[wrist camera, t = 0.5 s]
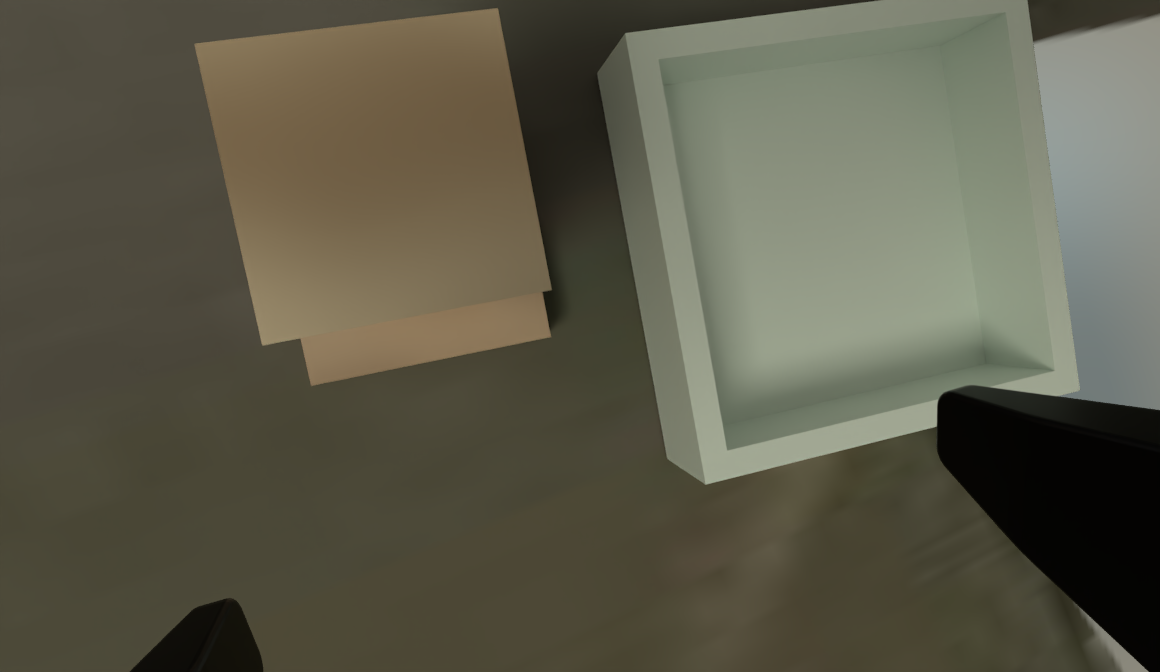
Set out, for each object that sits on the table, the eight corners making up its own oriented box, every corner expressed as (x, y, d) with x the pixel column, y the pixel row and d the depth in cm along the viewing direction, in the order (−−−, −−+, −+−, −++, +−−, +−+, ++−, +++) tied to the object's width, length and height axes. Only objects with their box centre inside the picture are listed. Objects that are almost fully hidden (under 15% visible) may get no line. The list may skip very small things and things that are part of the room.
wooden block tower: (544, 335, 23) (668, 370, 11) (318, 381, 22) (169, 479, 10) (502, 113, 23) (581, -112, 10) (266, 147, 21) (39, -63, 9)
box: (996, 379, 26) (1079, 390, 23) (667, 458, 24) (705, 484, 21) (945, 25, 25) (1024, -19, 22) (597, 73, 23) (625, 33, 20)
